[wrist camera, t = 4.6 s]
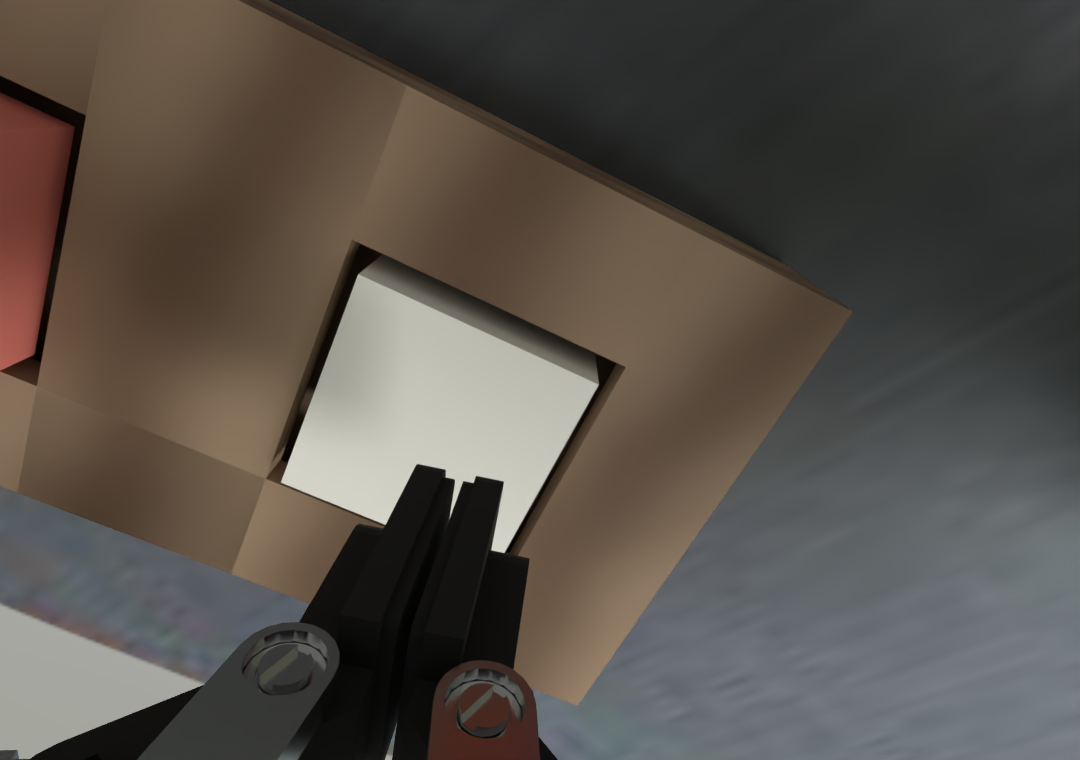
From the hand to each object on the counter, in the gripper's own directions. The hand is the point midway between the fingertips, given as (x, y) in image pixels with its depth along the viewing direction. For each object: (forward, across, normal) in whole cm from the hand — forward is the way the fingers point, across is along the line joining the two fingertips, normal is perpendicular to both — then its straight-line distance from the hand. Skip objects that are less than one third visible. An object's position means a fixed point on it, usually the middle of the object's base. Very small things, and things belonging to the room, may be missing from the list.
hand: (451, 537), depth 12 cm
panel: (+9, +8, -2) cm, 12 cm away
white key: (+7, +1, 0) cm, 7 cm away
